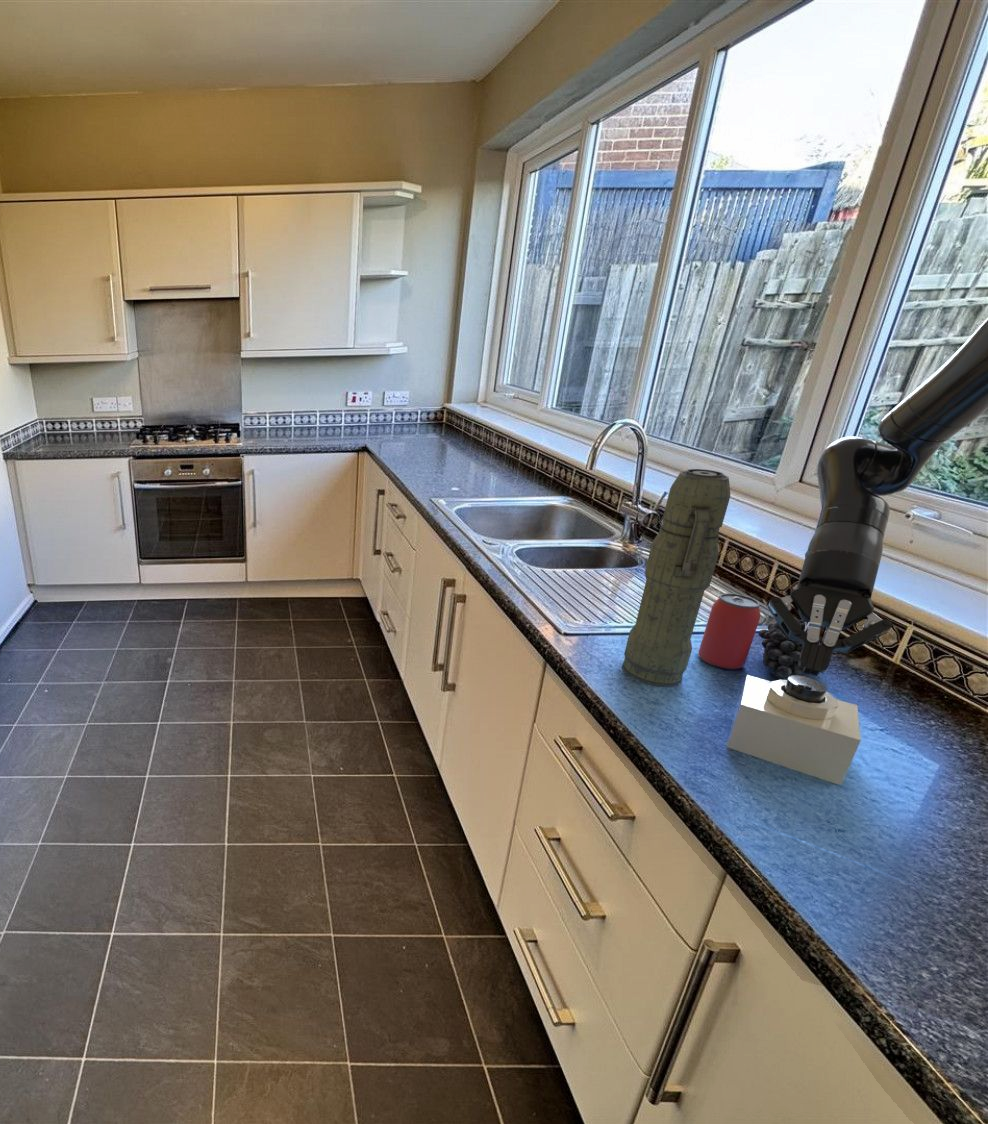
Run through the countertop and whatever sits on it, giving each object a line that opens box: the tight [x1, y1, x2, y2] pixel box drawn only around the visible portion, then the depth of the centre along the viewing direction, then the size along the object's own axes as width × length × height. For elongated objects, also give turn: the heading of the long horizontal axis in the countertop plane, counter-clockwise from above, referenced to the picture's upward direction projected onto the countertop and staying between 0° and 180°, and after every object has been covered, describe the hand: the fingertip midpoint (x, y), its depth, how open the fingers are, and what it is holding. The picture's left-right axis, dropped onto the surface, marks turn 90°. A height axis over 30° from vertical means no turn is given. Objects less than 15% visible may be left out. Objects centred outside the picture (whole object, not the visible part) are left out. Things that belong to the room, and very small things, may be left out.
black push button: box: [783, 675, 828, 703], centre depth 83 cm, size 4×4×2 cm
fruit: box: [758, 618, 821, 680], centre depth 104 cm, size 9×8×15 cm
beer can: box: [698, 592, 761, 670], centre depth 106 cm, size 7×7×12 cm
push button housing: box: [726, 674, 862, 786], centre depth 85 cm, size 12×10×9 cm
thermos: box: [621, 468, 731, 688], centre depth 99 cm, size 9×12×35 cm
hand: (811, 672), depth 82 cm, fingers closed
